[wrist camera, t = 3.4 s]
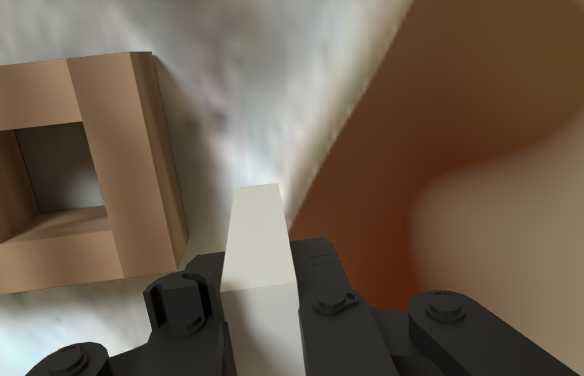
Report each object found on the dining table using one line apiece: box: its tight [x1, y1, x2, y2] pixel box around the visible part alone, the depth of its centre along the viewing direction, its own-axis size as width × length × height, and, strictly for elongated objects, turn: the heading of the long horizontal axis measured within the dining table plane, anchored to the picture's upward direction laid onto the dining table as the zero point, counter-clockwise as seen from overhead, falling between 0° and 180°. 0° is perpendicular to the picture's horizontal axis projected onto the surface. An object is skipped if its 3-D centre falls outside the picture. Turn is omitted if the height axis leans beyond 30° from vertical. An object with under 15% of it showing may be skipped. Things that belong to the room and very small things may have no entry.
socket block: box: [0, 52, 189, 294], centre depth 24 cm, size 16×12×4 cm
